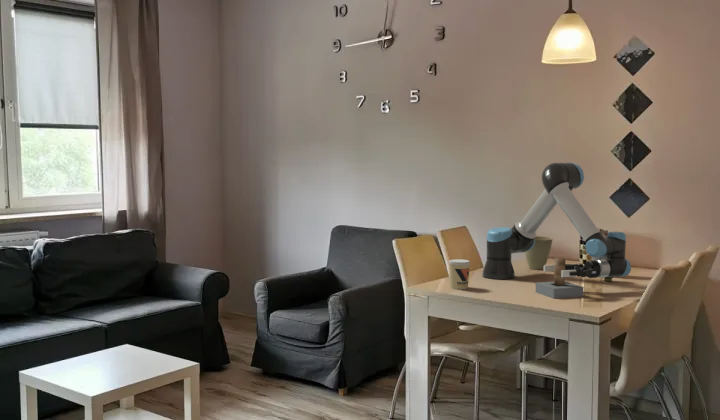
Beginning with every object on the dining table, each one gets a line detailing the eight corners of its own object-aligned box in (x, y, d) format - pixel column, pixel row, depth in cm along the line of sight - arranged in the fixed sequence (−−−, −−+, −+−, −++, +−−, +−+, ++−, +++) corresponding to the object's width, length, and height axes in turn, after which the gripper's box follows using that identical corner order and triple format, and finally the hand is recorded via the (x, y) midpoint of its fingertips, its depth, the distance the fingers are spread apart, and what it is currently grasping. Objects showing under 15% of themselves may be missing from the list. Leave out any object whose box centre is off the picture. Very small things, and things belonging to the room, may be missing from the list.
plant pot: (517, 268, 358) (518, 238, 357) (528, 265, 371) (529, 235, 369) (545, 271, 350) (546, 240, 349) (555, 268, 362) (556, 237, 361)
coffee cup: (456, 290, 301) (456, 263, 300) (444, 286, 309) (444, 259, 308) (473, 288, 305) (474, 261, 304) (461, 285, 314) (461, 258, 313)
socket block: (535, 291, 299) (535, 282, 299) (563, 290, 303) (564, 281, 303) (553, 298, 286) (553, 288, 286) (583, 296, 290) (583, 287, 290)
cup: (617, 283, 320) (618, 266, 320) (600, 282, 322) (601, 265, 321) (615, 280, 328) (615, 263, 327) (598, 279, 329) (599, 262, 329)
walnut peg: (551, 291, 296) (552, 258, 295) (560, 290, 297) (561, 258, 296) (557, 293, 292) (558, 260, 291) (566, 292, 293) (567, 259, 292)
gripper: (614, 282, 287) (569, 285, 281) (578, 272, 311) (536, 274, 305) (615, 264, 287) (570, 266, 281) (579, 256, 310) (537, 257, 304)
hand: (552, 271), depth 293 cm, fingers open, 13 cm apart
